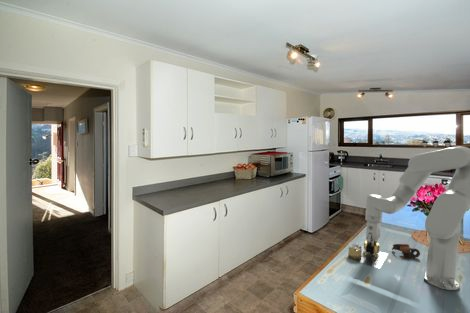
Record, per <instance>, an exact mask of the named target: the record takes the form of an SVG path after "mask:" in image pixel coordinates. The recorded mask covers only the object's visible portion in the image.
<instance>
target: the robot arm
mask: <svg viewBox="0 0 470 313" xmlns="http://www.w3.org/2000/svg"><path fill="white" fill-rule="evenodd" d="M407 164H408V165H407V168H406V169H405V171H404V172H403V173H402V174H401V175H400V177H399V180H398V181H399V184H398V187H397V189H396V190H394V192H393V193H392V194H391V196H389V197H386V198H384V197H383V196H382V195H379V194H376V193H375V194H374V193H372V194H371V193H370V194H368V195H367V196H366V203H365V204H366V206H365V221H366V232H365V239H366V241H367V247H366V252H368V253H371V254H373V250H374V246H373V243H374V242H376V243H378V240H379V239H380V238H381V224H382V222H383V213H384V214H388V215H393V214H396V213H398V212H399V211H401V210H403V209H404V208H405V207H406V205H407V204H408V203H409V202H410V201H411V200H412V199H413V197H415V194H417V192H418V191H419V189H420V188H421V186H422V185H424V183H425V182H426V180H427V179H428V178H429V177H430V176H431V175H432V173H436V172H442V171H443V172H444V171H450V170H455V172H454V173H453V176H452V178H451V180H450V182H449V184H448V186H447V188H446V190H445V191H444V192H442V193H441V194H439V195H438V196H437V197H436V199H435V201H434V202H433V203H432V206H431V208H430V211H429V213H428V215H427V217H426V219H425V221H424V229H425V230H426V232H427V233H428V235H429V238H428V245H427V246H428V249H427V259H426V270H425V272H424V277H423V280H424V281H425V282H426V283H428V284H430V285H431V286H433V287H436V288H438V289H441V290H447V291H457V290H459V288H460V283H459V282H458V281H457V280H456V273H457V272H456V270H457V260H458V259H457V258H458V251H459V242H460V237H461V230H462V222H461V221H462V220H463V217H464V216H465V214H466V212H467V211H468V210H469V209H470V147H467V146H462V145H461V146H452V147H446V148H443V149H438V150H434V151H428V152H424V153H418V154H417V153H416V154H414V155H412V156H411V158H410V159H409V160H408V163H407ZM371 241H372V243H371Z"/></svg>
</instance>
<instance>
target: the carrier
mask: <svg viewBox="0 0 470 313" xmlns="http://www.w3.org/2000/svg"><path fill="white" fill-rule="evenodd" d="M351 245H352V246H350V247H348V252H347V254H346V255H345V256H344V258H346V259H349V260H352V261H354V262H358V263H361V264H364V265H365V266H369V267H372V268H375V269H378V270H380V269H381V268H382V266H383V265H384V262H385V261H386V259H387V257H388V256H389V253H387V252H384V251H381V250H379V253H377V254H374V253H373V254H371V253H368V252H366V251H365V250H364V245H361V244H359V243H353V244H351ZM373 245H374V244H373Z"/></svg>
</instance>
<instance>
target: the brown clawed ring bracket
mask: <svg viewBox="0 0 470 313" xmlns="http://www.w3.org/2000/svg"><path fill="white" fill-rule="evenodd" d="M392 246H393V247H392V249H391V250H392V251H393V250H394V251H399V252H401V253H402V255H399V257H400V258H402V259H406V260H407V259H408V260H410V259H412V260H413V259H415V258H419V257H420V255H421V252H420V250H419V249H417V248H413V247H412V248H411V247H410V244H407V243H395V244H392ZM415 252H416V254H415Z"/></svg>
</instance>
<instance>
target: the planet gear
mask: <svg viewBox="0 0 470 313" xmlns="http://www.w3.org/2000/svg"><path fill="white" fill-rule="evenodd" d="M371 243H372V241H371ZM363 244H364V245H363V246H364V250H365V251H366V247H367V240H364V242H363ZM373 244H374V245H373V246H374V250H373V253H374V254H377V253H379V251H380V243H379V242H377V243H376V242H374V243H373Z"/></svg>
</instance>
